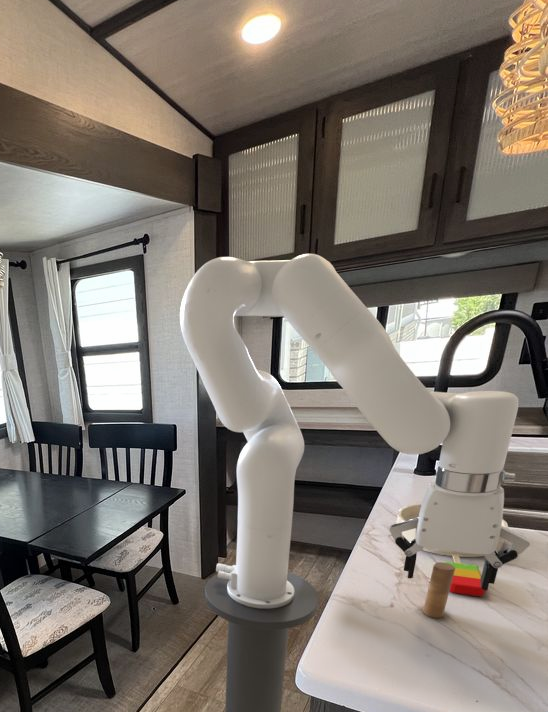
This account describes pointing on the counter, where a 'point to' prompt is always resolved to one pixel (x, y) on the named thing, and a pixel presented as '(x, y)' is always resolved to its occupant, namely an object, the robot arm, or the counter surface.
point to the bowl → (413, 513)
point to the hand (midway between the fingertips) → (445, 580)
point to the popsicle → (465, 578)
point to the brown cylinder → (438, 589)
